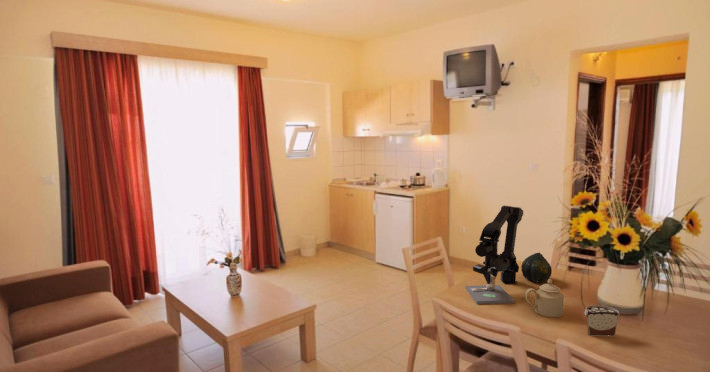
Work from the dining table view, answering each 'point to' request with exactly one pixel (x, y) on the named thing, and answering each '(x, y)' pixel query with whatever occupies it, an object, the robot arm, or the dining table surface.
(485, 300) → the tuner dial board
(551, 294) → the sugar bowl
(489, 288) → the tuning peg
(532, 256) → the squash
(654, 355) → the dining table surface
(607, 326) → the food container
